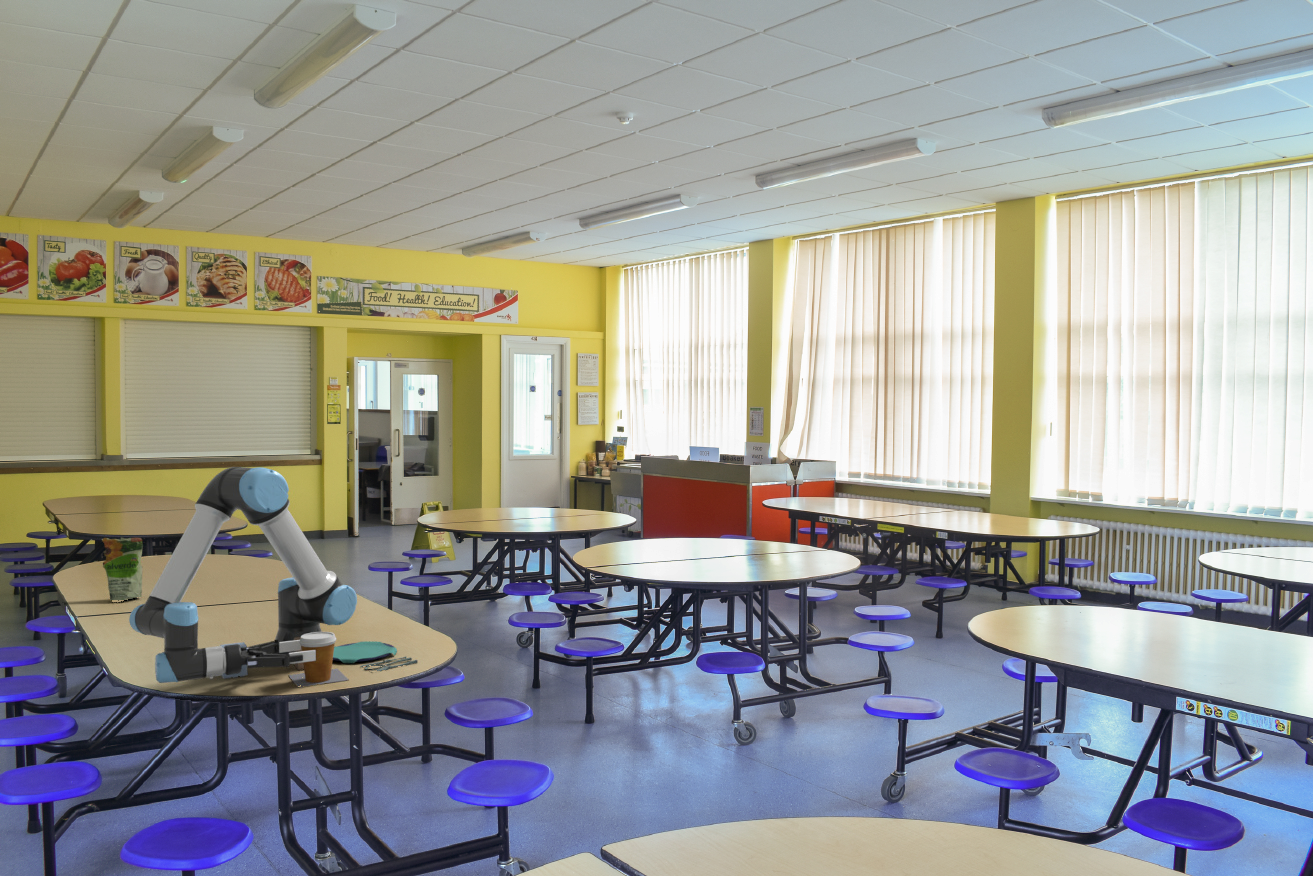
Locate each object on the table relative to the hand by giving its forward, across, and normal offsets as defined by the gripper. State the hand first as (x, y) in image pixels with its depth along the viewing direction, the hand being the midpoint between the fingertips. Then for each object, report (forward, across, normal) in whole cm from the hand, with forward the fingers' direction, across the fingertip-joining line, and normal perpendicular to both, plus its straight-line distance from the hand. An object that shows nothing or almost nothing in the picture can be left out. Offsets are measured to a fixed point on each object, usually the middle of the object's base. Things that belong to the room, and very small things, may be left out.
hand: (309, 649), depth 247 cm
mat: (+2, 0, -8) cm, 8 cm away
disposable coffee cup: (+2, +2, -8) cm, 8 cm away
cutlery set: (+19, -14, -9) cm, 25 cm away
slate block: (-17, -16, -8) cm, 25 cm away
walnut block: (+2, -14, -8) cm, 17 cm away
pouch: (-38, -150, -8) cm, 155 cm away
